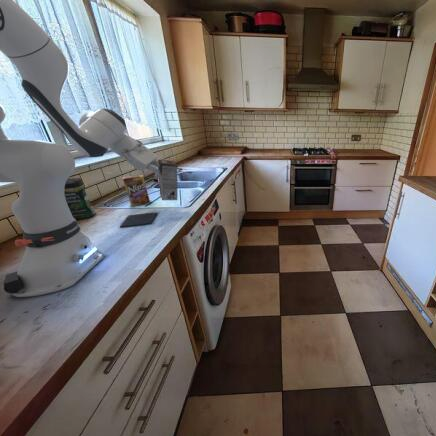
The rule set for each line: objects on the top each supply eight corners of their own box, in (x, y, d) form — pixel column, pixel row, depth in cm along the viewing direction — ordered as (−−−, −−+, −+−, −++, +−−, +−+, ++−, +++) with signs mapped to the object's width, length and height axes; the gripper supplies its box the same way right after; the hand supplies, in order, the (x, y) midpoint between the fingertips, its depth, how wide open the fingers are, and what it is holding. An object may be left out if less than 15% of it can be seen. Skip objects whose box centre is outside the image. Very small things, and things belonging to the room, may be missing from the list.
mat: (151, 223, 101) (151, 222, 101) (120, 227, 98) (119, 226, 98) (157, 213, 111) (157, 212, 111) (129, 216, 108) (129, 215, 108)
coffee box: (159, 194, 105) (157, 159, 100) (174, 194, 109) (174, 160, 103) (161, 200, 99) (160, 163, 93) (178, 200, 102) (177, 164, 97)
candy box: (131, 207, 119) (122, 178, 112) (131, 204, 122) (122, 176, 115) (150, 203, 123) (142, 176, 116) (150, 201, 126) (142, 174, 120)
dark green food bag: (66, 221, 103) (47, 182, 95) (74, 214, 110) (57, 177, 102) (92, 218, 106) (75, 179, 98) (98, 211, 113) (83, 175, 105)
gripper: (124, 146, 83) (160, 170, 90) (140, 140, 101) (169, 161, 108) (114, 159, 84) (150, 182, 91) (132, 150, 102) (161, 171, 109)
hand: (160, 170), depth 99 cm, fingers closed on coffee box, 6 cm apart
